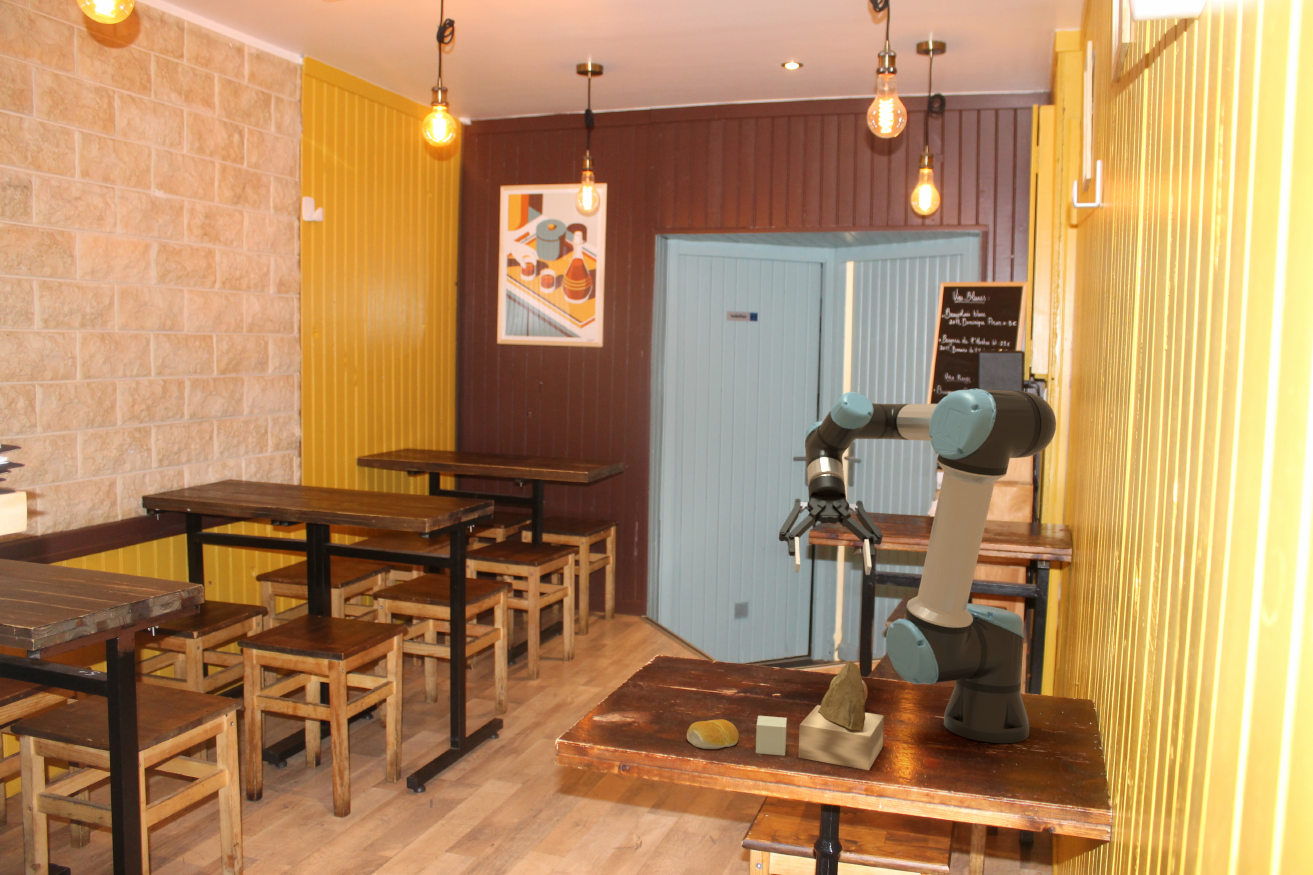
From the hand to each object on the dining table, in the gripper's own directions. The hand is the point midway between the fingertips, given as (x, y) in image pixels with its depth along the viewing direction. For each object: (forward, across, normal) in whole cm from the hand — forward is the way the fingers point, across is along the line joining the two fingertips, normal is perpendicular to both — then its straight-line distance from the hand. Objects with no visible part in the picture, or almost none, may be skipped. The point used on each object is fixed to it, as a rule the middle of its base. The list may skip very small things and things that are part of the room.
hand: (833, 569), depth 186 cm
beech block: (+34, 0, -7) cm, 35 cm away
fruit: (+17, -4, -23) cm, 29 cm away
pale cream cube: (+34, +12, -6) cm, 37 cm away
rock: (+31, 0, -2) cm, 31 cm away
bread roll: (+32, +22, -8) cm, 40 cm away
